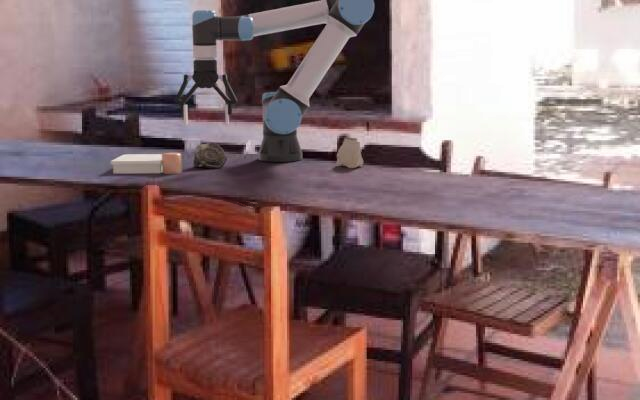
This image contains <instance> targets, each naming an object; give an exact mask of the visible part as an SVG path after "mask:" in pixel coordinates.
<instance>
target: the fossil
mask: <svg viewBox="0 0 640 400" xmlns="http://www.w3.org/2000/svg"><path fill="white" fill-rule="evenodd" d="M227 159H228V158H227V156H226V153H225V150H224V148H222V147H221V145H219V144H218V143H216V142H206V143H203V144H198V145H197V146H196V148H195V152H194V158H193V168H198V167H199V166H200V165H201V166H203V167H204V168H206V169H210V170H215V169H216V170H217V169H221V168H222V167H223V166H224V165H225V164H226V163H227Z"/></svg>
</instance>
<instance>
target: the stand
mask: <svg viewBox="0 0 640 400" xmlns="http://www.w3.org/2000/svg"><path fill="white" fill-rule="evenodd" d="M162 154H163V153H156V154H155V153H152V154H151V153H150V154H149V153H138V154H137V153H136V154H134V153H133V154H132V153H131V154H130V153H129V154H128V153H127V154H125V153H124V154H122V155H120V156H118V157H116V158H114V159H112V160H110V165H112V173H113V174H161V173H163V169H162ZM113 174H112V175H113Z"/></svg>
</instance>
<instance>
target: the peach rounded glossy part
mask: <svg viewBox="0 0 640 400" xmlns="http://www.w3.org/2000/svg"><path fill="white" fill-rule="evenodd" d="M161 154H162V169H163V172H162V174H165V175H175V174H176V175H177V174H181V173H183V171H182V169H183V168H182V166H183V165H182V153H181V152H164V153H161Z"/></svg>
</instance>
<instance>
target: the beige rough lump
mask: <svg viewBox="0 0 640 400" xmlns="http://www.w3.org/2000/svg"><path fill="white" fill-rule="evenodd" d="M336 159H337V160H336V165H338V166H339V167H344V166H345V167H347V168H349V169H357V167H359V168H361V167H362V166H363V164H364V159H363V157H362V152H361V141H360V140H359V138H356V137H345V138H344V140H343V141H342V144H341V145H340V147H339V149H338V151H337V154H336Z"/></svg>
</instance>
